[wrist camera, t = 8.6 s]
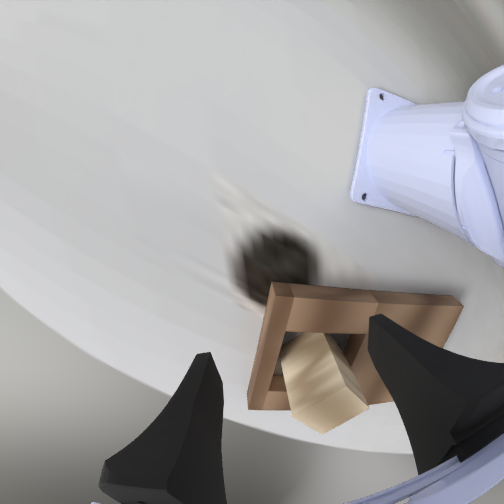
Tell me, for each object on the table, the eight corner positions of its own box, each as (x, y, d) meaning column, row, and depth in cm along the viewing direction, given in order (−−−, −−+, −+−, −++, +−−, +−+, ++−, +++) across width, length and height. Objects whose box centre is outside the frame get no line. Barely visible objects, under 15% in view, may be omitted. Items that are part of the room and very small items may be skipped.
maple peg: (318, 321, 22) (345, 385, 15) (341, 347, 23) (369, 407, 16) (277, 348, 22) (292, 416, 16) (304, 372, 24) (321, 434, 17)
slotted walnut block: (451, 295, 22) (463, 306, 20) (404, 386, 26) (411, 398, 24) (271, 281, 20) (275, 295, 18) (247, 393, 24) (248, 409, 22)
